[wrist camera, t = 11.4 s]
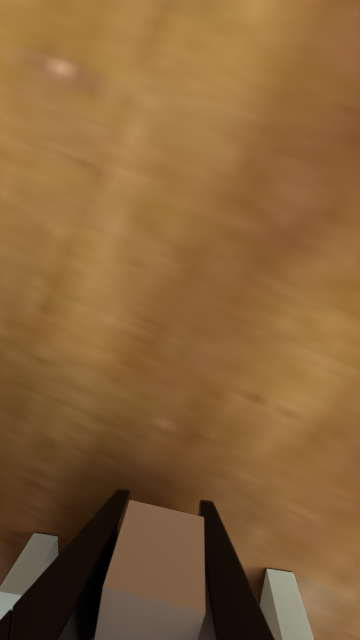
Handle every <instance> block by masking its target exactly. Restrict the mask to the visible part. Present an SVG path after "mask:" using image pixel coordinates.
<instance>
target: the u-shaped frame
mask: <svg viewBox="0 0 360 640" xmlns="http://www.w3.org/2000/svg"><path fill="white" fill-rule="evenodd" d="M57 556H58V536H52V535H45V534H39V533H34V534H33V535H32V537H31V539H30V540H29V542H28V543H27V545H26V546H25V548H24V550H23V551H22V553H21V554H20V556H19V558H18V559H17V561H16V562H15V564H14V565H13V567H12V569H11V570H10V572H9V573H8V575H7V576H6V578H5V580H4V581H3V583H2V584H1V586H0V620H1V618H2V617H3V616H4V615H5V614H6V613H7V612H8V611H9V610H10V609H11V610H12V608H13V605H14V604H15V603H16V602H17V601H18V600H19V599H20V597H21V596H22V595H23V594H24V593H25V592H26V591H27V590H28V589H29V587H30V586H31V585H32V584H33V583H34V582H35V581H36V580H37V578H38V577H39V576H40V575H41V574H42V573H43V572H44V571H45V570H46V568H47V567H48V566H49V565H50V564H51V563H52V562H53V561H54V560H55V558H56V557H57ZM260 608H261V610H262V612H263V614H264V616H265V619H266V621H267V623H268V625H269V628H270V630H271V632H272V634H273V637H274V639H275V640H314V638H313V635H312V631H311V628H310V625H309V622H308V618H307V615H306V612H305V609H304V605H303V602H302V599H301V596H300V592H299V589H298V586H297V583H296V580H295V576H294V573H292V572H286V571H279V570H273V569H266V574H265V580H264V585H263V590H262V595H261V600H260Z"/></svg>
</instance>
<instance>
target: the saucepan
mask: <svg viewBox="0 0 360 640" xmlns="http://www.w3.org/2000/svg"><path fill="white" fill-rule="evenodd" d="M204 616H205V551H204V517H201V516H197V515H193V514H188V513H184V512H180V511H176V510H171V509H167V508H163V507H159V506H154V505H150V504H146V503H141V502H137V501H133V500H129V504H128V507H127V510H126V513H125V517H124V520H123V523H122V526H121V530H120V533H119V536H118V539H117V543H116V546H115V549H114V552H113V556H112V559H111V562H110V565H109V569H108V572H107V575H106V578H105V582H104V585H103V589H102V596H101V602H100V608H99V615H98V621H97V628H96V634H95V640H198V636H199V633H200V630H201V626H202V623H203V619H204Z"/></svg>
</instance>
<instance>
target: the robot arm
mask: <svg viewBox="0 0 360 640" xmlns="http://www.w3.org/2000/svg"><path fill="white" fill-rule="evenodd" d="M129 500H131V491H130V490H128V489H118V490H116V491H115V493H114V494H113V495H112V496H111V497H110V498H109V499H108V500H107V502H106V503H105V504H104V505H103V506H102V507H101V508H100V509H99V510H98V512H97V513H96V514H95V515H94V516H93V517H92V518H91V519H90V520H89V522H88V523H87V524H86V525H85V526H84V527H83V528H82V529H81V531H80V532H79V533H78V534H77V535H76V536H75V537H74V538H73V539H72V541H71V542H70V543H69V544H68V545H67V546H66V547H65V548H64V549H63V551H62V552H61V553H60V554H59V555H58V556H57V557H56V558H55V560H54V561H53V562H52V563H51V564H50V565H49V566H48V567H47V568H46V570H45V571H44V572H43V573H42V574H41V575H40V576H39V577H38V578H37V580H36V581H35V582H34V583H33V584H32V585H31V586H30V587H29V589H28V590H27V591H26V592H25V593H24V594H23V595H22V596H21V597H20V599H19V600H18V601H17V602H16V603H15V604H14V605H13V608H12V610H11V609H10V610H9V611H8V612H7V613H6V614H5V615H4V616H3V617H2V618H1V620H0V640H95V634H96V628H97V621H98V615H99V608H100V602H101V596H102V589H103V585H104V582H105V578H106V575H107V572H108V569H109V565H110V562H111V559H112V556H113V552H114V549H115V546H116V543H117V539H118V536H119V533H120V530H121V526H122V523H123V520H124V517H125V513H126V510H127V507H128V504H129ZM198 516H201V517H204V551H205V616H204V619H203V623H202V626H201V630H200V633H199V636H198V640H275V639H274V637H273V634H272V632H271V630H270V628H269V625H268V623H267V621H266V619H265V616H264V614H263V612H262V610H261V608H260V605H259V603H258V601H257V599H256V596H255V594H254V592H253V590H252V587H251V585H250V583H249V581H248V578H247V576H246V574H245V572H244V569H243V567H242V565H241V563H240V561H239V558H238V556H237V554H236V552H235V549H234V547H233V545H232V543H231V540H230V538H229V536H228V534H227V531H226V529H225V527H224V525H223V523H222V520H221V518H220V516H219V514H218V511H217V509H216V507H215V505H214V503H213V502H212V501H208V500H200V503H199V511H198Z"/></svg>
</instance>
